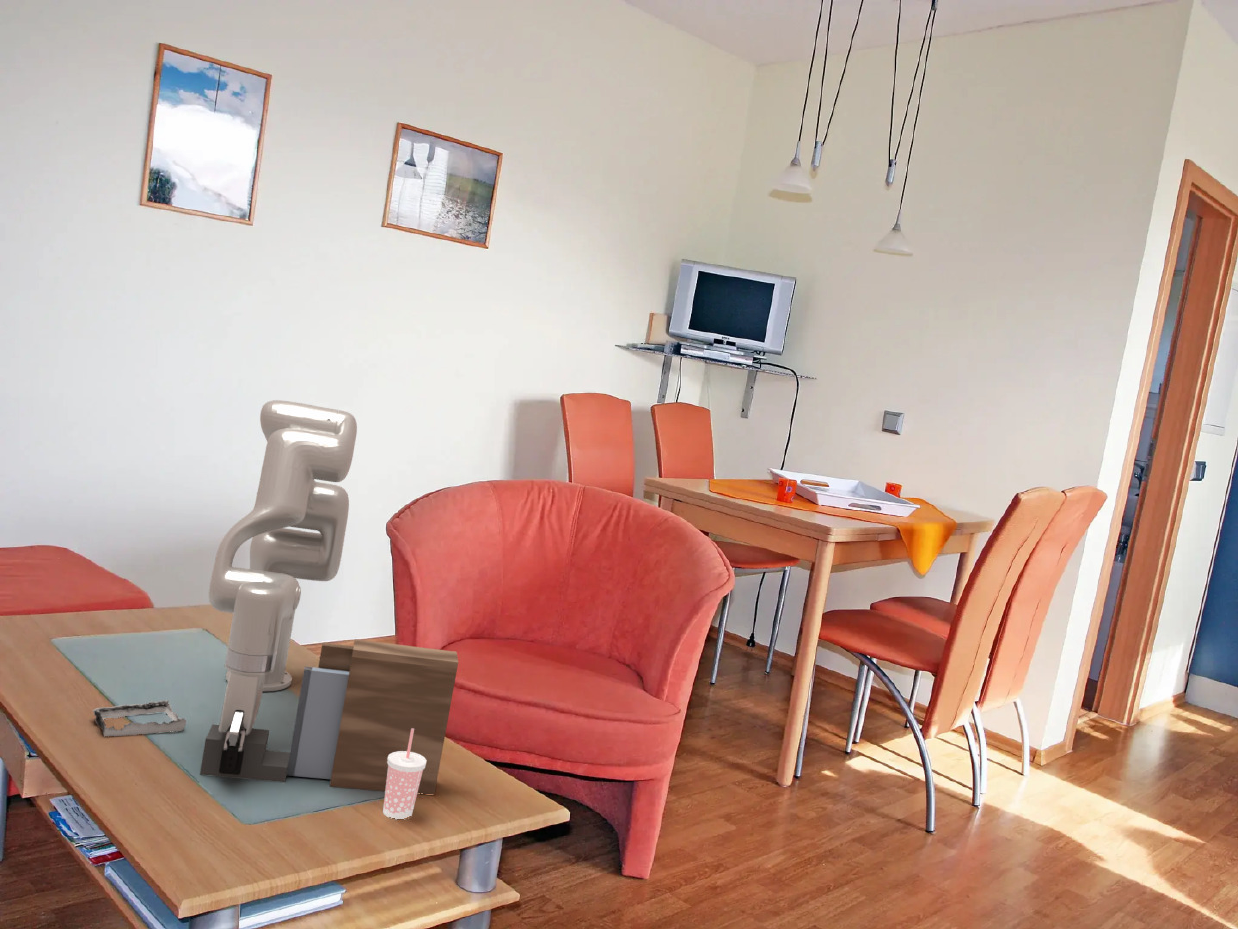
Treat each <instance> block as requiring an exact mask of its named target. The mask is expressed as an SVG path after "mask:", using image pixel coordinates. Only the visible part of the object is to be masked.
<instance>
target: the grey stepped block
mask: <svg viewBox="0 0 1238 929" xmlns="http://www.w3.org/2000/svg"><path fill="white" fill-rule="evenodd" d="M219 725H220V724H213V723H212V724H211V726H210V729H209V730H208V732H207V735H206V737H205V740H204V747H203V752H202V753H203V754H202V761H201V764H200V765H201V766H200V770H199V771H200V773H199V775H200V776H209V777H212V776H213V777H220V778H221V777H222V778H233V779H245V780H253V781H254V780H256V781H257V780H258V781H268V782H277V783H285V782H286V778H287V775H286V774H287V768H288V763H289V757H290V751H289V752H288V751H287V752H286V751H280V750H270V749H269V750H267V748H268V741H269V737H270V736H269V735H270V729H264V728H263V729H261V728H254V727H253V728H252V730H251V733H250V734H249V735H247V736H245V740H244V745H243V749H242V750H244V755H243V761H242V767H241V772H240V774H239V775H232V774H221V773H219V768H220V761H221V755H222V749H223V748H224V744H225V740H226V735H227V731H228V729H227V731H226V732H223V733H220V732H219ZM240 730H241V731H244V729H240ZM238 739H240V740H241V736H238Z"/></svg>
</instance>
